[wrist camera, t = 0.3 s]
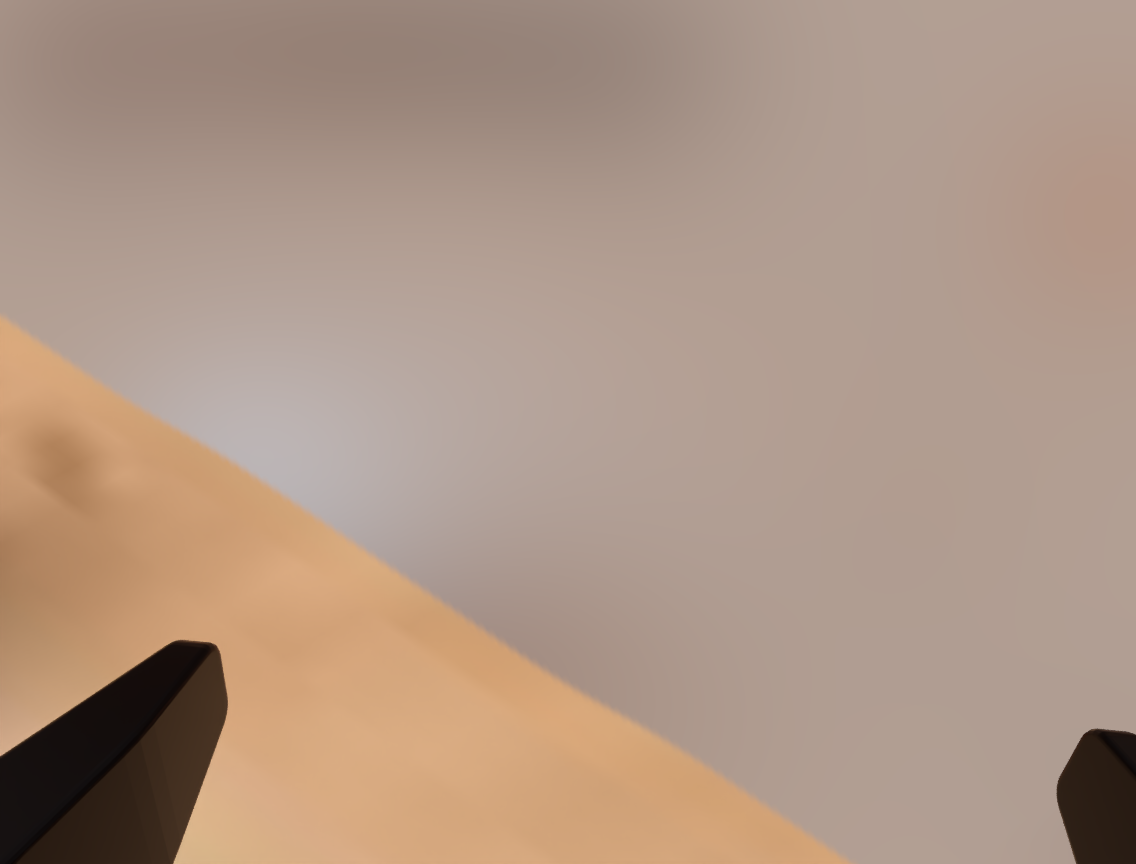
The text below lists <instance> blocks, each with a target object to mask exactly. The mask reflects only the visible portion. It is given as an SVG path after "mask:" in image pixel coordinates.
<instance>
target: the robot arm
mask: <svg viewBox="0 0 1136 864" xmlns="http://www.w3.org/2000/svg"><path fill="white" fill-rule="evenodd" d="M227 708H228V698H227V691H226V685H225V679H224V673H223V667H222V661H221V655H220V651H219V649H218V648H217V646H216V645H215V644H212V643H209V642H198V641H188V640H177V641H174V642H172V643H170V644H168V645H166V646H165V647H163V648H162V649H160V650H159V651H157V652H156V653H154V654H153V655H151V656H150V657H148V658H147V659H145V660H144V661H142V662H141V663H139V664H138V665H136V666H135V667H133V668H132V669H130V670H129V671H127V672H126V673H124V674H123V675H121V676H120V677H118V678H117V679H115V680H114V681H112V682H111V683H109V684H108V685H106V686H105V687H103V688H102V689H101V690H99V691H98V692H96V693H95V694H93V695H92V696H90V697H89V698H87V699H86V700H84V701H83V702H81V703H80V704H78V705H77V706H75V707H74V708H72V709H71V710H69V711H68V712H66V713H65V714H63V715H62V716H60V717H59V718H57V719H56V720H54V721H53V722H51V723H50V724H48V725H47V726H45V727H44V728H42V729H41V730H39V731H38V732H36V733H35V734H33V735H32V736H30V737H29V738H27V739H26V740H24V741H23V742H21V743H20V744H18V745H17V746H15V747H14V748H12V749H11V750H9V751H8V752H6V753H5V754H3V755H2V756H0V864H173V863H174V860H175V858H176V855H177V852H178V850H179V847H180V845H181V842H182V839H183V836H184V834H185V831H186V828H187V825H188V823H189V820H190V817H191V814H192V812H193V809H194V806H195V803H196V800H197V798H198V795H199V792H200V789H201V787H202V784H203V781H204V778H205V776H206V773H207V770H208V767H209V765H210V762H211V759H212V756H213V753H214V751H215V748H216V745H217V742H218V740H219V737H220V734H221V731H222V729H223V726H224V723H225V719H226V715H227ZM1057 802H1058V806H1059V810H1060V813H1061V816H1062V819H1063V823H1064V826H1065V829H1066V832H1067V835H1068V838H1069V842H1070V845H1071V848H1072V851H1073V855H1074V858H1075V861H1076V864H1136V735H1135V734H1133V733H1130V732H1126V731H1115V730H1105V729H1091V730H1089V731H1088V732H1086V733H1085V734H1084V735H1083V736H1082V738H1081V740H1080V741H1079V743H1078V745H1077V747H1076V749H1075V750H1074V752H1073V754H1072V756H1071V757H1070V759H1069V761H1068V763H1067V765H1066V767H1065V768H1064V770H1063V772H1062V774H1061V776H1060V778H1059V780H1058V784H1057Z"/></svg>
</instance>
